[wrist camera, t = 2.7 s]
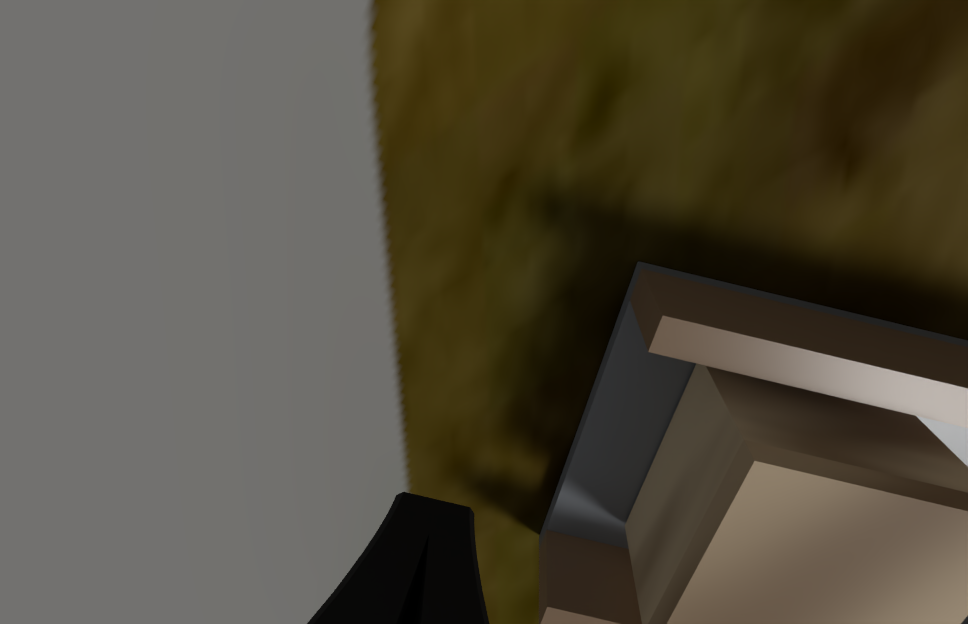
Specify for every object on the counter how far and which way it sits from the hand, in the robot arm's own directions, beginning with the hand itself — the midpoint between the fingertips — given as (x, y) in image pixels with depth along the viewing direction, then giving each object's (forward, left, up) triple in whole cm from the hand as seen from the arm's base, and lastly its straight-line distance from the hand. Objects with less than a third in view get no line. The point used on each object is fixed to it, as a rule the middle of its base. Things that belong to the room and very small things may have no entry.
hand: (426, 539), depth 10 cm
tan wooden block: (-5, -6, -5) cm, 9 cm away
